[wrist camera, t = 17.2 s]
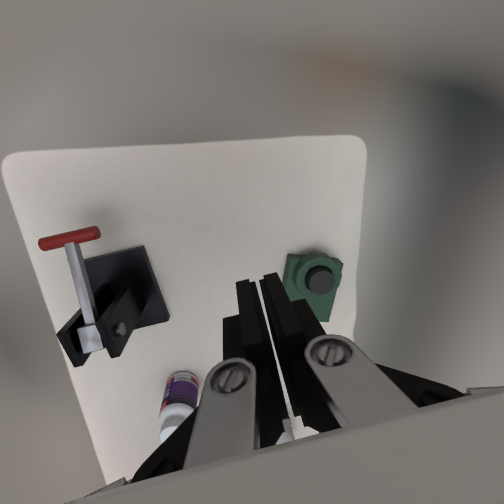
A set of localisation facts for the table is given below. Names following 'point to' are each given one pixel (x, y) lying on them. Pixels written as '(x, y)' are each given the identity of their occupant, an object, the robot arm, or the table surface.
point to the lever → (79, 281)
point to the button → (320, 280)
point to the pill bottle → (177, 402)
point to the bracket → (117, 302)
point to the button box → (298, 287)
